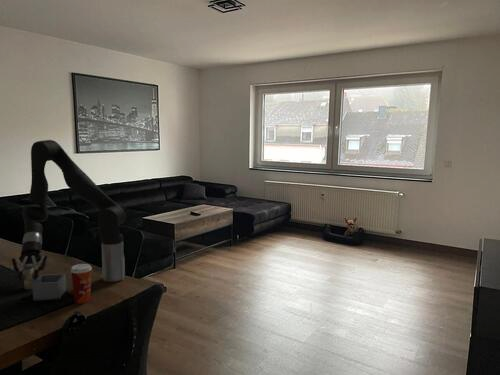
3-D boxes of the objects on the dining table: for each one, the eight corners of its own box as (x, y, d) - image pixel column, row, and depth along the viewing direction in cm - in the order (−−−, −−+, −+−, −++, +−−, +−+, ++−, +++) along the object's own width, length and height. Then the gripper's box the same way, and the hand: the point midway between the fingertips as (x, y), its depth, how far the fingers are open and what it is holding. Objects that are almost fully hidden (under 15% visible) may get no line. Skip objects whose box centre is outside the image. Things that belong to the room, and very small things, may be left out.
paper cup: (84, 305, 141) (83, 270, 139) (67, 303, 142) (65, 268, 140) (97, 297, 148) (96, 263, 146) (80, 295, 150) (79, 262, 148)
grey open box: (66, 289, 155) (65, 273, 154) (59, 299, 146) (58, 282, 145) (42, 290, 153) (41, 274, 152) (33, 300, 144) (32, 283, 143)
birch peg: (35, 285, 158) (34, 263, 157) (32, 289, 155) (31, 266, 153) (26, 286, 157) (25, 263, 156) (23, 289, 154) (21, 266, 153)
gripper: (11, 241, 158) (6, 278, 148) (48, 239, 163) (46, 274, 153) (15, 249, 163) (10, 286, 154) (51, 247, 169) (48, 282, 159)
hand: (28, 280), depth 154 cm, fingers open, 4 cm apart
